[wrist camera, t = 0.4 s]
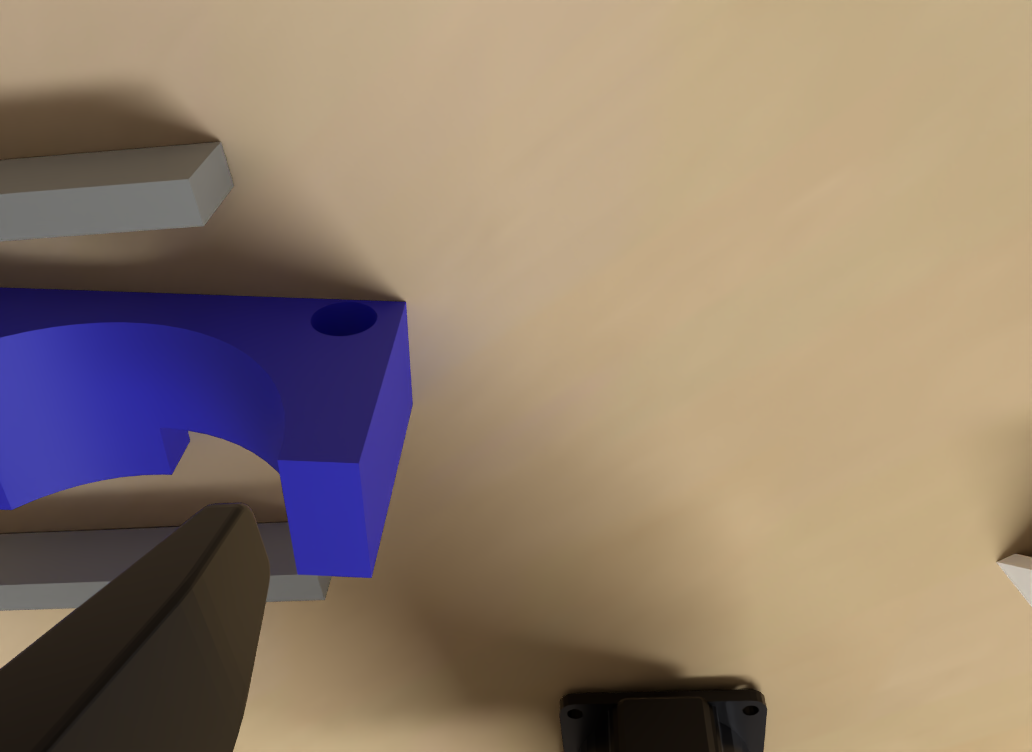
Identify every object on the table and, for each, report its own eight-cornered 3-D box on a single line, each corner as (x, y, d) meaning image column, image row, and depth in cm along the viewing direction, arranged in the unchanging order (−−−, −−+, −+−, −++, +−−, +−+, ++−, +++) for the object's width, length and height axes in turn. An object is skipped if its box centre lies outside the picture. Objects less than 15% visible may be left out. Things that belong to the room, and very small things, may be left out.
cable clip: (-30, 428, 24) (-180, 601, 20) (-91, 281, 22) (-281, 437, 17) (416, 446, 24) (377, 627, 19) (407, 298, 22) (358, 463, 17)
